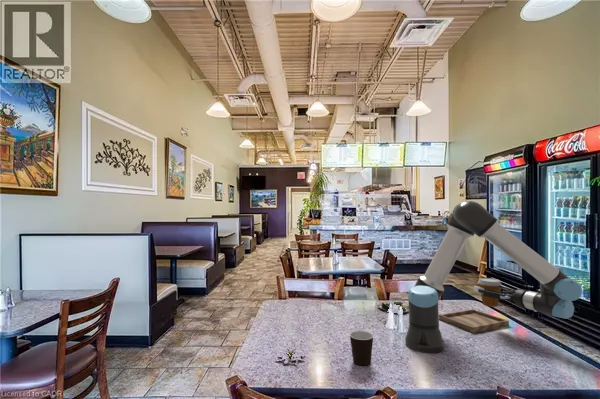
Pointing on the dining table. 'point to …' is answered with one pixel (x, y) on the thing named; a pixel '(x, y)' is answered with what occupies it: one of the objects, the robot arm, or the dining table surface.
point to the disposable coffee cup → (490, 285)
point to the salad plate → (386, 306)
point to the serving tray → (473, 320)
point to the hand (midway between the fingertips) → (480, 288)
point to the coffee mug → (361, 347)
